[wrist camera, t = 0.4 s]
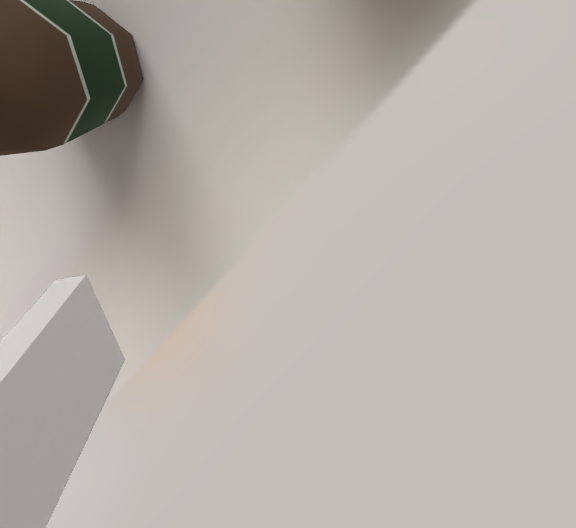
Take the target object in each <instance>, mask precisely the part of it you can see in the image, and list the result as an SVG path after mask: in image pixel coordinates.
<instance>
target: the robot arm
mask: <svg viewBox="0 0 576 528" xmlns="http://www.w3.org/2000/svg"><path fill="white" fill-rule="evenodd" d="M124 361H125V358H124V356H123V354H122V352H121V349H120V347H119V345H118V343H117V341H116V339H115V336H114V334H113V332H112V330H111V328H110V326H109V323H108V321H107V319H106V317H105V315H104V313H103V310H102V308H101V306H100V304H99V302H98V300H97V297H96V295H95V293H94V291H93V289H92V287H91V284H90V282H89V280H88V278H87V276H86V275H82V276H75V277H69V278H62V279H56V280H55V281H54V283H53V284H52V285H51V286H50V287H49V288H48V289H47V290H46V291H45V293H44V294H43V295H42V296H41V297H40V298H39V299H38V300H37V301H36V303H35V304H34V305H33V306H32V307H31V308H30V309H29V310H28V311H27V313H26V314H25V315H24V316H23V317H22V318H21V319H20V320H19V321H18V323H17V324H16V325H15V326H14V327H13V328H12V329H11V330H10V331H9V333H8V334H7V335H6V336H5V337H4V338H3V339H2V340H1V341H0V528H46V526H47V524H48V522H49V519H50V517H51V515H52V513H53V511H54V509H55V507H56V505H57V503H58V500H59V498H60V496H61V494H62V492H63V490H64V487H65V486H66V484H67V481H68V479H69V477H70V475H71V473H72V471H73V469H74V467H75V465H76V462H77V460H78V458H79V456H80V454H81V452H82V450H83V448H84V445H85V443H86V441H87V439H88V437H89V435H90V433H91V431H92V428H93V426H94V424H95V422H96V420H97V418H98V416H99V414H100V412H101V410H102V407H103V405H104V403H105V401H106V399H107V397H108V395H109V393H110V391H111V388H112V386H113V384H114V382H115V380H116V378H117V376H118V374H119V371H120V369H121V367H122V365H123V363H124Z"/></svg>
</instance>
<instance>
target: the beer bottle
mask: <svg viewBox="0 0 576 528" xmlns="http://www.w3.org/2000/svg"><path fill="white" fill-rule="evenodd" d="M142 81H143V76H142V72H141V68H140V64H139V60H138V56H137V52H136V48H135V44H134V40H133V36H132V35H131V34H130V33H129V32H127V31H126V30H125V29H124V28H122V27H121V26H120V25H119V24H117V23H116V22H115V21H114V20H112V19H111V18H110V17H109V16H107V15H106V14H105V13H103V12H102V11H101V10H100V9H98V8H97V7H96V6H95V5H91V4H88V3H85V2H79V1H73V0H0V156H1V155H9V154H18V153H26V152H35V151H43V150H48V149H51V148H54V147H57V146H60V145H63V144H65V143H67V142H69V141H71V140H73V139H75V138H77V137H79V136H81V135H83V134H84V133H86V132H88V131H90V130H92V129H94V128H96V127H98V126H100V125H102V124H104V123H106V122H108V121H110V120H112V119H114V118H116V117H118V116H119V115H120V114H122V113H123V112H124V111H125V110H126V108H127V106H128V105H129V103H130V101H131V100H132V98H133V96H134V94H135V93H136V91H137V89H138V88H139V86H140V84H141V83H142Z"/></svg>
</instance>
